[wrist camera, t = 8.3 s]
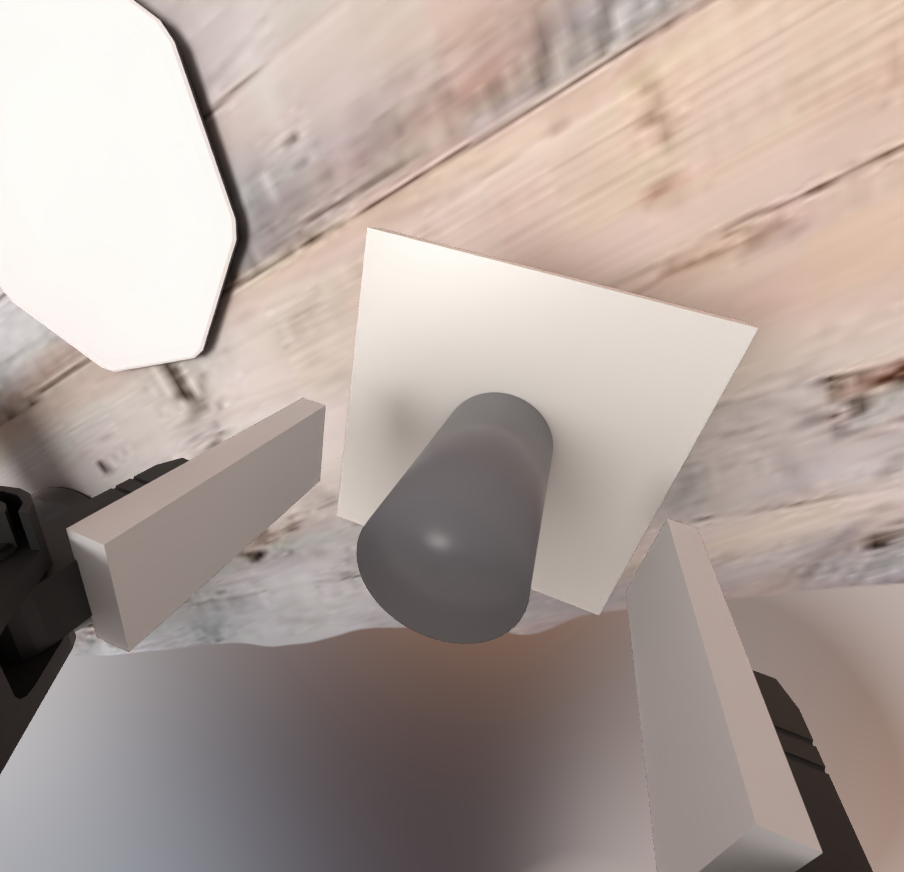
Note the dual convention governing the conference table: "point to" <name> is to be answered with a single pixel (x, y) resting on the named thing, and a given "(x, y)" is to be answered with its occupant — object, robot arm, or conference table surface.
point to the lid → (513, 431)
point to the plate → (108, 183)
